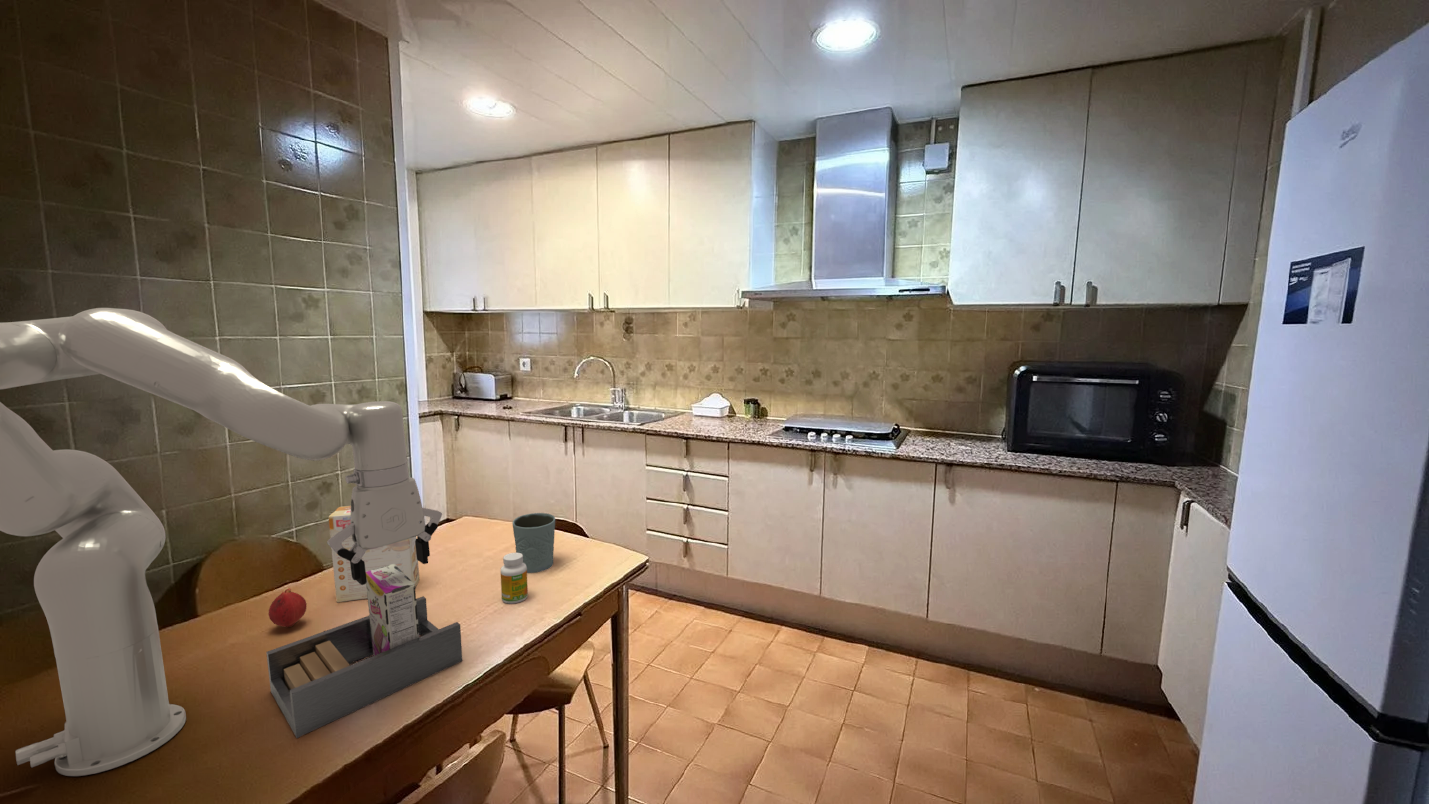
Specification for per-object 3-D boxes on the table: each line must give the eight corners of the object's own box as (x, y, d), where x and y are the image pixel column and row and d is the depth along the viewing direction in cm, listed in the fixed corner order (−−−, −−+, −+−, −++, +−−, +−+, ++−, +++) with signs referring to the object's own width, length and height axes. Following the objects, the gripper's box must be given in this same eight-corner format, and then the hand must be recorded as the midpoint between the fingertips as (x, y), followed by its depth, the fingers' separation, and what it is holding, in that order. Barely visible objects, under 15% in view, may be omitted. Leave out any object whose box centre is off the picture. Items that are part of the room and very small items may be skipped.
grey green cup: (540, 554, 142) (538, 510, 140) (565, 564, 136) (564, 518, 134) (505, 567, 133) (503, 521, 132) (530, 578, 128) (528, 530, 126)
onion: (287, 636, 103) (283, 597, 102) (262, 633, 104) (258, 594, 103) (315, 620, 109) (311, 583, 108) (291, 617, 110) (287, 580, 109)
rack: (296, 738, 78) (291, 693, 77) (270, 691, 88) (266, 651, 87) (462, 660, 96) (460, 624, 95) (425, 629, 106) (423, 596, 105)
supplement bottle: (512, 606, 115) (510, 563, 114) (496, 600, 118) (494, 557, 116) (533, 596, 119) (531, 554, 118) (517, 590, 122) (515, 549, 121)
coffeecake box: (420, 579, 127) (414, 499, 124) (413, 593, 120) (407, 509, 118) (346, 588, 122) (338, 505, 120) (335, 603, 116) (327, 516, 113)
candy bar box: (370, 657, 97) (363, 571, 95) (401, 645, 101) (395, 562, 98) (391, 686, 89) (383, 592, 87) (423, 672, 93) (417, 582, 91)
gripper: (328, 492, 81) (341, 598, 84) (445, 468, 95) (453, 560, 97) (314, 483, 86) (326, 584, 89) (427, 461, 99) (435, 549, 102)
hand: (393, 571), depth 93 cm, fingers open, 9 cm apart
